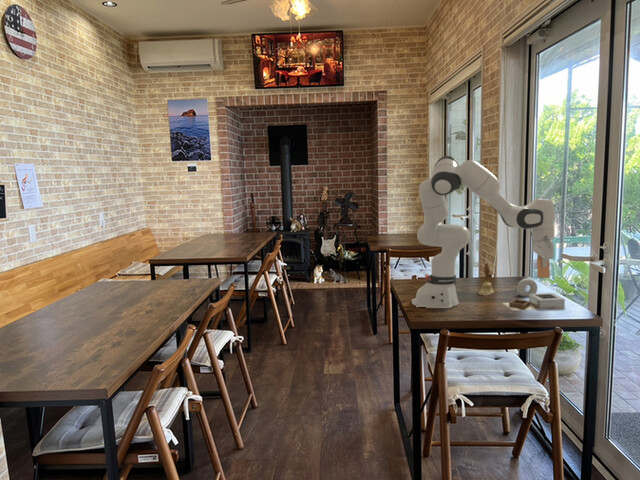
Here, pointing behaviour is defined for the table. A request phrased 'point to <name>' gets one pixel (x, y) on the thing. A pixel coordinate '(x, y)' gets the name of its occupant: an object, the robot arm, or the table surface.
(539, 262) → the peg
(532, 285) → the donut
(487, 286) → the hand bell
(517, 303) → the peg holder
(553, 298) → the socket block
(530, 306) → the board
